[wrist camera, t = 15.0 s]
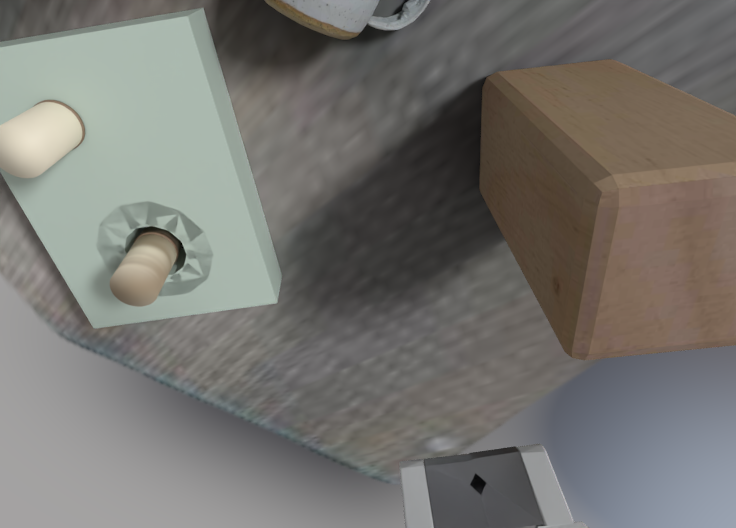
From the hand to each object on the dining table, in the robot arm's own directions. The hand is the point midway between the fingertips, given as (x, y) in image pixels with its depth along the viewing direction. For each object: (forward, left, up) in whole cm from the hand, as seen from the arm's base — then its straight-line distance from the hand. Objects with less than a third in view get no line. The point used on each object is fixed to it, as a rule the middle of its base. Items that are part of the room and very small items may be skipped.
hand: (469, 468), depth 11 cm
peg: (+8, -19, -31) cm, 37 cm away
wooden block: (+5, +12, -31) cm, 34 cm away
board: (+4, -19, -31) cm, 36 cm away
